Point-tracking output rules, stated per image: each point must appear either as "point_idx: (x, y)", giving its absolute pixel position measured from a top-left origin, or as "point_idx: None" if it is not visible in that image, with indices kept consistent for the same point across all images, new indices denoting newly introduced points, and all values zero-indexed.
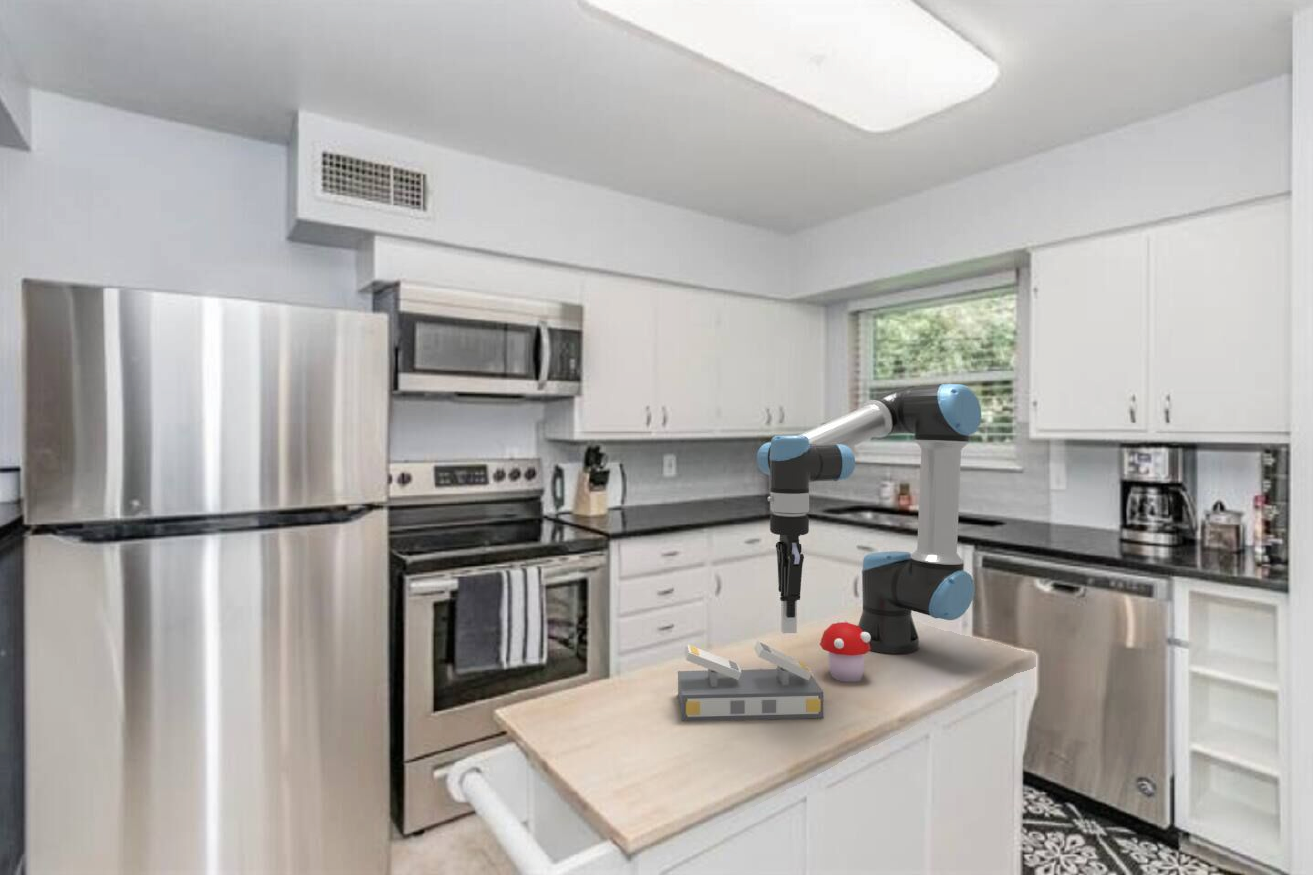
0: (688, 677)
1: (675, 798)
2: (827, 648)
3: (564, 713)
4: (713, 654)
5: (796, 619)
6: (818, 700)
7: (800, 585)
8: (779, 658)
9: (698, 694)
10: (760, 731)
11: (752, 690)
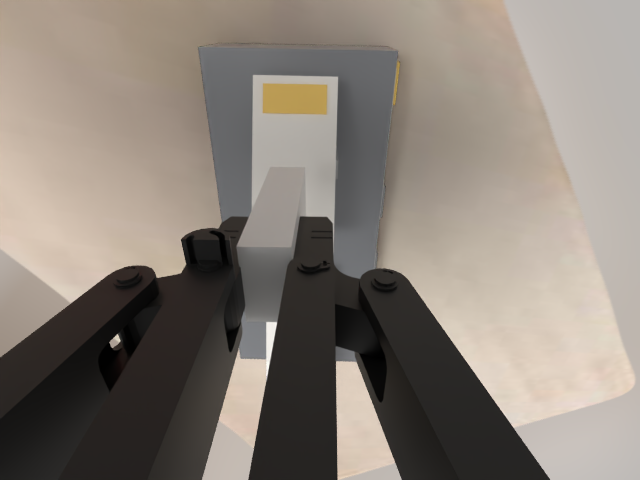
0: None
1: (582, 349)
2: None
3: None
4: (267, 344)
5: (299, 192)
6: (398, 68)
7: (469, 370)
8: (334, 203)
9: None
10: (423, 211)
11: (358, 241)
